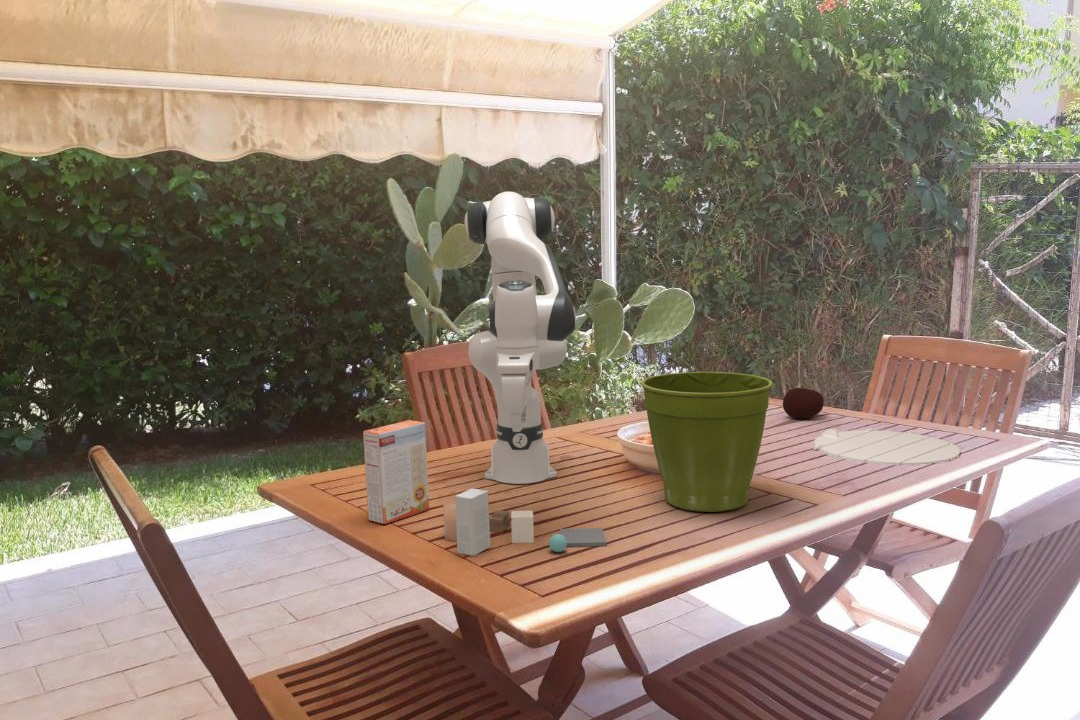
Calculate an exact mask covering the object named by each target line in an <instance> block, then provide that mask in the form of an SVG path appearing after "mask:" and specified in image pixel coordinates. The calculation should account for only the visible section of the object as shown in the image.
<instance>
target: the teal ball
mask: <svg viewBox="0 0 1080 720" xmlns="http://www.w3.org/2000/svg"><path fill="white" fill-rule="evenodd" d="M548 546H549V548H550V550H552V552H555V553H561V552H563V551H564V550H565V549H566V548H567V547H566V546H567V540H566V538H565V537H564V536H563V535H561V534H560V533H554V534H552V536H551V537H550V538H549V540H548Z"/></svg>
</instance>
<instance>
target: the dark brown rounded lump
mask: <svg viewBox="0 0 1080 720" xmlns="http://www.w3.org/2000/svg"><path fill="white" fill-rule="evenodd" d="M824 402H825V400H824V397H823V395H822V394H821V392H818V391H817V390H813V389H809V388H805V387H804V388H803V387H794V388H792V389H791V388H790V389H789V390H788V391H787V392H786V393H785V395H784V397H783V399H782V408H783V410H784V412H785V414H787V416H789V417H790V418H791V417H792V418H794V419H796V420H798V419H799V420H800V419H801V420H802V419H803V420H804V419H808V418H809V419H810V418H812V417H815V416H817V415H818V414H820V413H821V412H822V410H823V408H824V404H825V403H824Z"/></svg>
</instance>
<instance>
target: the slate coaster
mask: <svg viewBox="0 0 1080 720" xmlns="http://www.w3.org/2000/svg"><path fill="white" fill-rule="evenodd" d="M559 534H561V535H563V536H564V537H565V538H566V540H567V546H566V548H574V547H575V548H581V546H587V547H606V546H607V540H606V537H605V532H604V530H603V527H584V528H582V527H581V528H559ZM605 545H606V546H605ZM579 546H580V547H579Z"/></svg>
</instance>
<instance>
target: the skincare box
mask: <svg viewBox="0 0 1080 720" xmlns="http://www.w3.org/2000/svg"><path fill="white" fill-rule="evenodd" d="M454 500H455V505H456V529H457V542H456V549H457V554H461V555H467V556H470V557H475V556H476V555H478V554H480V553H481V552H483V551H485V550H487V549H489V548H490V547H491V534H490V533H491V532H490V528H489V518H490V511H489V510H490V506H489V490H484V489H477V488H469V489H467V490H465V491H463V492H461V493H459V494H457V495H455V496H454Z"/></svg>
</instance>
